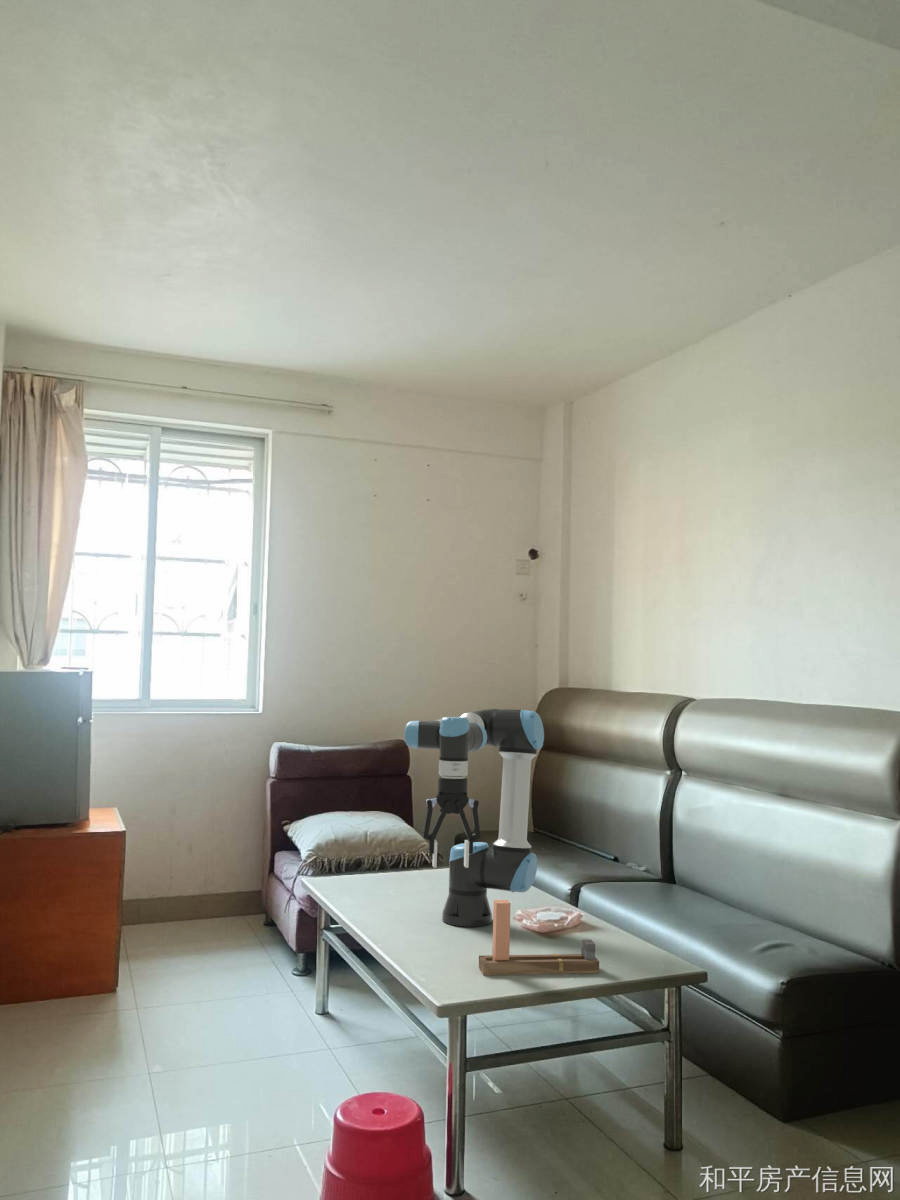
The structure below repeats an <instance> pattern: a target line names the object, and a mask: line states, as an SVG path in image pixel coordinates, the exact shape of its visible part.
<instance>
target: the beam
mask: <svg viewBox="0 0 900 1200" xmlns="http://www.w3.org/2000/svg"><path fill="white" fill-rule="evenodd" d="M492 958H493V956H492V954H491V955H490V954H489V955H478V969H479V971H480V973H481V974H482V976H504V975H505V976H508V975H509V976H513V975H514V976H515V975H517V976H518V975H562V974H563V975H565V974H567V975H568V973H571V974H572V973H576V974H600V960H599V959H598V958H597V957H596V943H595V942H594V941H593V940H592V939H591V938H587V939H585V938H582V939H581V953H568V954H566V953H565V954H564V953H563V954H560V953H558V954H557V953H551V954H509V960H498V961H492Z"/></svg>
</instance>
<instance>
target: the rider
mask: <svg viewBox="0 0 900 1200" xmlns="http://www.w3.org/2000/svg"><path fill="white" fill-rule="evenodd" d="M510 937H511V902H510V901H509V899H493V913H492V951H491V952H492V953H491V955H492V956H493V958H492V961H498V960H509V955H510V946H511V945H510V942H511V939H510Z"/></svg>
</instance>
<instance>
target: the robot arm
mask: <svg viewBox="0 0 900 1200" xmlns="http://www.w3.org/2000/svg"><path fill="white" fill-rule="evenodd" d="M544 730H545V729H544V724H543V721H542V718H541V717H540V714H538V713H537V712H536V711H535V710H534V711H533V710H526V709H508V708H507V709H502V708H498V709H497V708H486V709H480V710H475V711H470V712H466V713H463V714H462V715H461V716H445V717H444V716H443V717H442V718H441V719H433V720H410V721H408V722H407V723H406V726H405V728H404V734H403V735H404V739H403V740H404V742H405V744H406V746H407V747H409V748H413V749H422V750H423V749H425V750H439V758H438V775H439V776H440V777H439V778H438V781H437V782H438V786H437V789H438V790H437V795H436V797H435V798H426V800H425V803H426V811H425V816H424V822H423V827H422V832H421V836H422V837H423V839H424V840H427V841H428V852H429V854H431V855H432V864H431V865H432V867H433V868H436V869H437V867H438V866H437V865H438V864H437V863H438V841H437V839H436V837H437V835H438V833H439V831H440V829H441V826H442V824H443V821H444V819H445V817H446V816H447V815H448V814H455V815H458V816H459V819H460V821H461V824H462V828H463V830H464V832H465V836H466V838H467V839H464V843H458V844H456V845H453V846H452V847H451V849H450V852H449V859H448V861H449V862H448V863H449V864H448V865H449V875H448V876H449V877H448V896H447V897H446V898H447V899H446V901H445V904H444V906H443V907H444V908H443V910H442V913H441V914H442V916H441V917H442V919H441V921H442V922H443V923H445V922H446V923H445V924H447V923H448V925H452V926H455V925H456V926H457V927H463V926H464V927H466V928H476V927H483V926H488V925H490V924H491V923H493V913H492V910H491V907H490V903H489V898H488V896H487V893H488V892H487V891H488V889H491V890H497V891H505V892H506V891H507V892H510V893H526V892H528V891H529V890H531V888H532V886H533V883H534V882H535V879H536V877H537V876H536V875H537V871H538V858H537V857H538V856H537V855H536V854H535V853H534V852H532V845H531V844H530V842H528V839H527V838H528V823H529V810H530V809H529V807H530V806H529V805H530V789H531V788H530V787H531V769H532V768H531V766H532V760H533V759H534V758H535V757H537V752H538V750H541V749H542V748H543V746H544V742H545V731H544ZM485 746H488V747H498V753H499V755H500V756H501V757H502V773H501V790H500V792H501V793H500V804H499V805H500V807H499V808H500V809H499V810H500V811H499V823H498V825H499V826H498V827H499V828H498V838H497V840H495V841H494V842H493V843H492V848H489V843H487V842H485V841H476V840H479V839H481V829H480V821H479V814H478V809H479V808H478V807H479V804H480V803H479V800H478V799H476V798H474V799H473V798H469V797H468V778H467V776H468V774H469V773H468V771H469V770H468V769H469V767H468V765H469V764H468V763H469V752H474V753H475V752H476V751H478V750H481V749H482V748H483V747H485ZM436 804H437V805H438V806H439V807H440V810H439V812H438V815H437V817H436V820H435V822H434V825H433V826H432V829H431V832H430V827H431V821H432V815H433V809H434V808H435V807H436V806H435V805H436ZM467 804H468V806H469V807H470V809H471V810H470V811H471V819H472V826H473V833H472V831H471V827H470V825H469V822H468V819H467V817H466V814H465V812H464V809H465V807H466V806H467ZM429 832H430V833H429ZM456 926H455V927H456Z"/></svg>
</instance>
